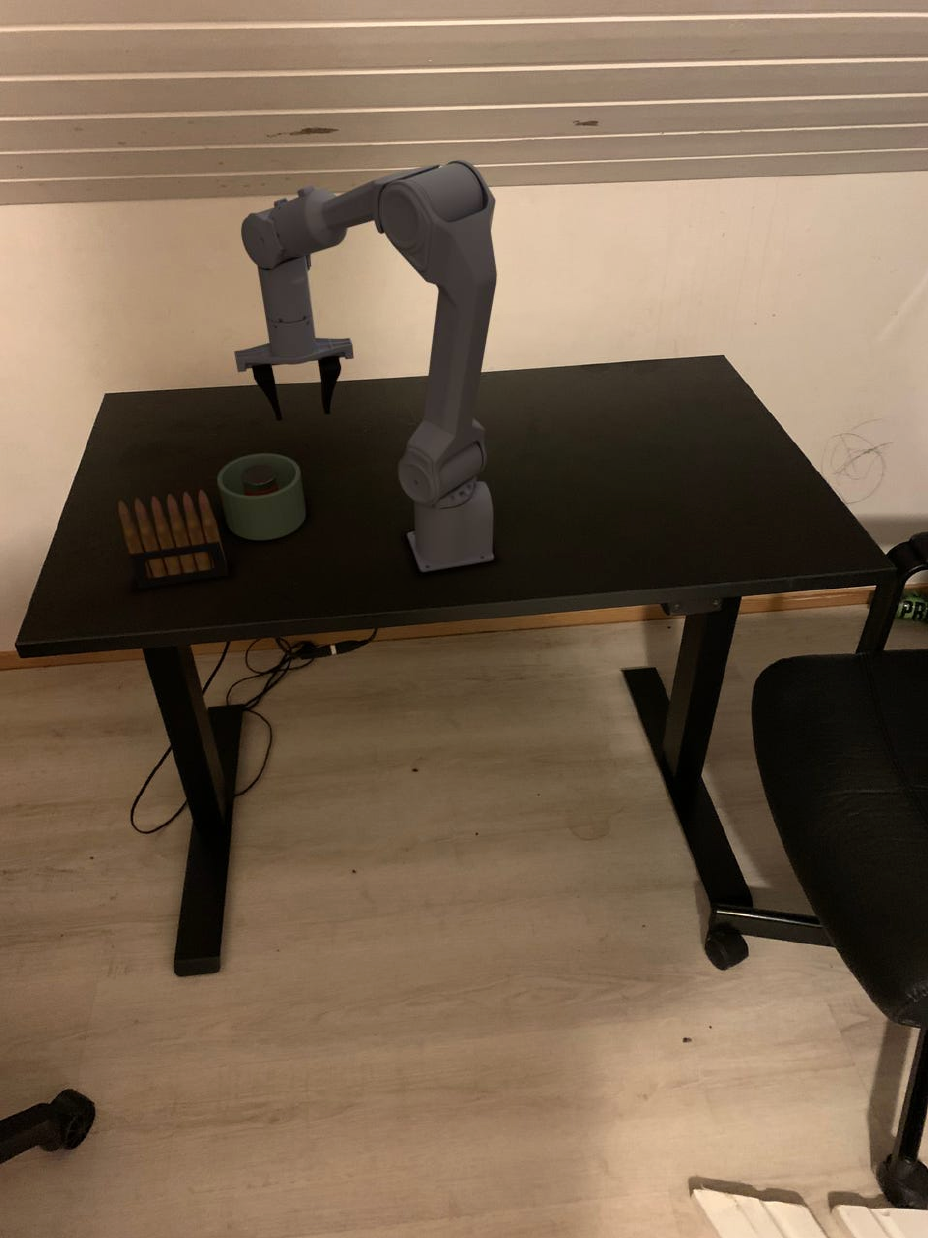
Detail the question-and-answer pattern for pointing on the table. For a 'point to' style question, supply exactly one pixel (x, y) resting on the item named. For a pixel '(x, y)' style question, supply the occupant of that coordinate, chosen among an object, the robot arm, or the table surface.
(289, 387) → the table surface
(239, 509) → the cup
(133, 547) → the ammunition clip
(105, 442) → the table surface
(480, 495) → the robot arm
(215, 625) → the table surface
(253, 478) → the tin can
